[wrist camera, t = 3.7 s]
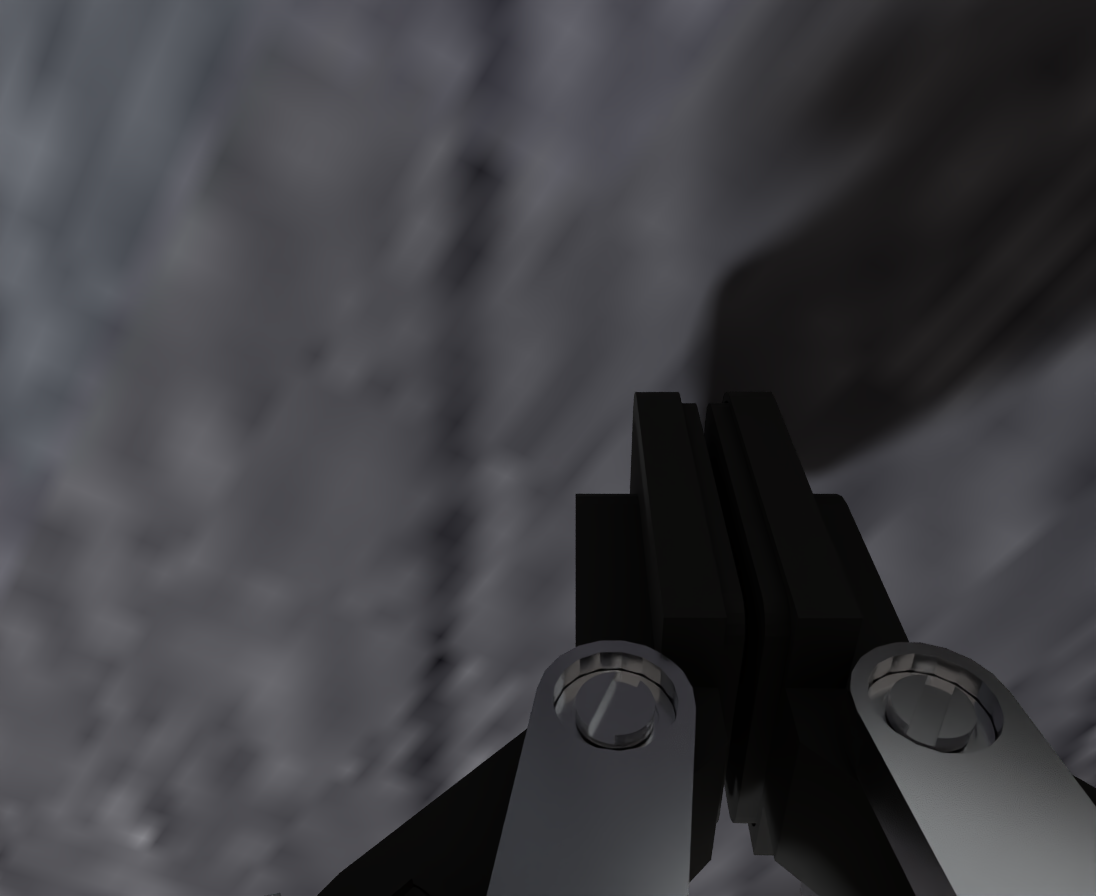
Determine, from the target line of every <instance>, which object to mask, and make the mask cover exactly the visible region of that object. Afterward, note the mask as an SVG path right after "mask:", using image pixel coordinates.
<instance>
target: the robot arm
mask: <svg viewBox="0 0 1096 896" xmlns="http://www.w3.org/2000/svg"><path fill="white" fill-rule="evenodd" d="M724 785H725V791H726V797H727V803H728V809H729V814H730V818H731V820H732V822H733V823H748V826H749V831H750V836H751V842H752V847H753V852H754V855H774V859H775V861H776V862H777V863H779V864H780V865H781V866H782V867H784V868H785V869H786V870H787V871H789V872H790V873H791V874H792V875H794V876H795V877H796V878H797V879H799V880H800V881H801V887H800V893H801V896H1096V788H1094V787H1093V786H1091V785H1089V784H1087V783H1086V782H1084V781H1082V780H1080V779H1079V778H1077V777H1075V776H1074V775H1072V774H1071V773H1070V771H1069V770H1068V769H1067V767H1066V766H1065V765H1064V763H1063V762H1062V761H1061V759H1060V758H1059V757H1058V755H1057V754H1056V753H1055V751H1054V750H1053V749H1052V747H1051V746H1050V744H1049V743H1048V742H1047V740H1046V739H1045V738H1044V736H1043V735H1042V734H1041V732H1040V731H1039V730H1038V728H1037V727H1036V726H1035V724H1034V723H1033V722H1032V720H1031V719H1030V718H1029V716H1028V715H1027V714H1026V712H1025V711H1024V710H1023V708H1022V707H1021V706H1020V704H1019V703H1018V702H1017V700H1016V699H1015V698H1014V696H1013V695H1012V693H1011V692H1010V691H1009V690H1008V689H1007V688H1006V687H1005V686H1004V685H1003V684H1002V683H1001V682H1000V681H999V680H998V679H997V678H996V676H995V675H994V674H993V673H991V672H990V671H988V670H987V669H985V668H984V667H982V666H981V665H979V664H978V663H976V662H975V661H973V660H972V659H970V658H968V657H965V656H963V655H961V654H958V653H956V652H954V651H951V650H949V649H947V648H943V647H939V646H934V645H930V644H925V643H921V642H909V641H908V638H907V636H906V634H905V632H904V630H903V627H902V625H901V623H900V621H899V618H898V616H897V614H896V612H895V610H894V607H893V605H892V603H891V601H890V598H889V596H888V594H887V592H886V590H885V587H884V585H883V583H882V581H881V578H880V576H879V574H878V572H877V570H876V567H875V565H874V563H873V561H872V558H871V556H870V554H869V552H868V550H867V547H866V545H865V543H864V541H863V539H862V536H861V534H860V532H859V530H858V527H857V525H856V523H855V521H854V519H853V516H852V514H851V512H850V510H849V507H848V505H847V503H846V502H845V500H844V499H843V497H842V496H840V495H838V494H813V493H812V490H811V488H810V485H809V483H808V480H807V478H806V475H805V473H804V470H803V468H802V465H801V463H800V460H799V458H798V455H797V453H796V450H795V448H794V445H793V443H792V440H791V438H790V435H789V433H788V430H787V428H786V425H785V423H784V420H783V418H782V415H781V413H780V411H779V408H778V406H777V403H776V401H775V398H774V396H773V394H772V392H726V393H725V394H724V397H723V401H722V403H709V404H708V407H707V412H706V421H705V432H704V433H703V429H702V425H701V421H700V417H699V412H698V408H697V405H696V404H695V403H682V402H681V398H680V394H679V392H635V395H634V406H633V430H632V455H631V480H630V494H576V647H575V648H573V649H572V650H570V651H568V652H566V653H564V654H562V655H560V656H559V657H558V658H557V659H556V660H555V661H554V662H553V663H552V664H551V665H550V666H549V667H548V668H547V669H546V670H545V672H544V674H543V676H542V679H541V681H540V683H539V685H538V687H537V691H536V695H535V699H534V703H533V707H532V711H531V715H530V719H529V723H528V728H527V729H526V730H525V731H523V732H522V733H521V734H520V735H518V736H517V737H516V738H514V739H513V740H512V741H510V742H509V743H508V744H507V745H505V746H504V747H503V748H501V749H500V750H499V751H497V752H496V753H495V754H494V755H492V756H491V757H490V758H488V759H487V760H486V761H484V762H483V763H482V764H481V765H479V766H478V767H477V768H475V769H474V770H473V771H472V772H470V773H469V774H468V775H466V776H465V777H464V778H462V779H461V780H460V781H459V782H457V783H456V784H455V785H453V786H452V787H451V788H449V789H448V790H447V791H446V792H444V793H443V794H442V795H440V796H439V797H438V798H436V799H435V800H434V801H433V802H431V803H430V804H429V805H427V806H426V807H425V808H424V809H422V810H421V811H420V812H418V813H417V814H416V815H414V816H413V817H412V818H411V819H409V820H408V821H407V822H405V823H404V824H403V825H401V826H400V827H399V828H398V829H396V830H395V831H394V832H392V833H391V834H390V835H388V836H387V837H386V838H385V839H383V840H382V841H381V842H379V843H378V844H377V845H376V846H374V847H373V848H372V849H370V850H369V851H368V852H366V853H365V854H364V855H363V856H361V857H360V858H359V859H357V860H356V861H355V862H353V863H352V864H351V865H350V866H348V867H347V868H346V869H344V870H343V871H342V872H340V873H339V874H338V875H337V876H336V877H335V878H334V879H333V880H332V881H331V882H330V883H329V884H328V885H327V886H326V887H325V888H324V889H323V890H322V891H321V892H320V893H319V894H318V896H688V893H689V882H690V881H691V880H692V879H693V878H694V877H695V876H696V875H697V874H698V873H699V872H700V871H701V870H702V869H703V868H704V866H705V865H706V864H707V863H708V862H709V861H710V860H711V856H712V849H713V842H714V835H715V828H716V823H717V822H718V820H719V815H720V808H721V801H722V794H723V787H724ZM266 896H281V894H280V893H275V894H271V895H266Z"/></svg>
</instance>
